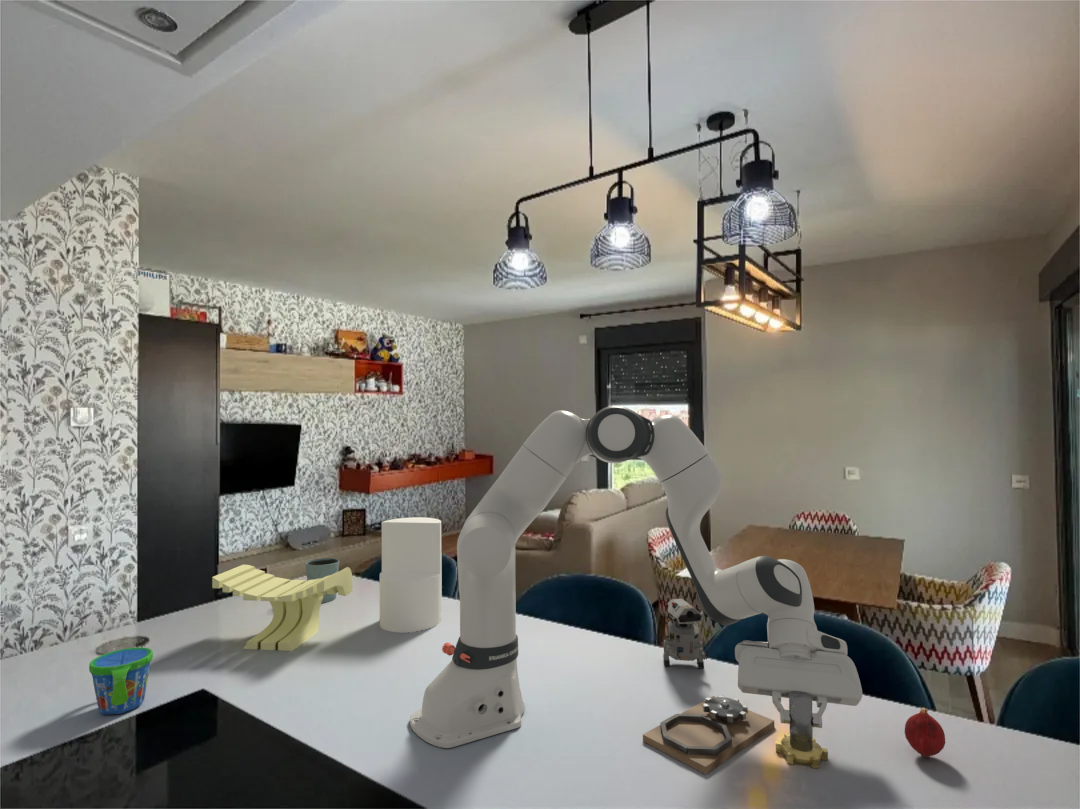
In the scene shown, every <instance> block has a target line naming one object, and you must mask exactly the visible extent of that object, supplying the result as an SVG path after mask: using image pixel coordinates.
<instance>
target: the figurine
mask: <svg viewBox="0 0 1080 809" xmlns="http://www.w3.org/2000/svg"><path fill="white" fill-rule="evenodd" d="M667 606H668V607H667V608H668V609H667V612H668V615H669V616H667V617H665V620H664V621H665V627H664V633H665V638H666V639H663V655H662V657H663V664H664V666H665V667H670V666H671V664H670V663H671V660H670V658H672V659H673V660H675V661H685V662H686V661H687V662H690V661H692V662H693V661H695V660H696V661H697V666H698V668H699V669H704V668H705V662H704V661H705V660H707V659H708V657H709V656H708V651H707V649H706V650H705V651H704V648H703V641H701V640H700V627H699V624H700V623H702V622H703V618H704V615H703V614H702V613H701V612H700V609H699V608H698V607H697V606H692V604H690V603H689V602H687V601H686V600H685V599H682V597H681V598H672V599H669V601H668V602H667Z"/></svg>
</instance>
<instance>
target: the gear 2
mask: <svg viewBox="0 0 1080 809" xmlns="http://www.w3.org/2000/svg"><path fill="white" fill-rule="evenodd" d="M788 702H789V703H788V705H789V706H788V708H789V709H788V710H789V711H790V724H789V733H784V737H783V738H781V740H776V739H775V752H776V753H781V754H782V756H783V757H784V758H785V759H786V763H788V764H790V765H793V766H794V765H795V764H796V765H800V766H806V767H807V766H808V767H811V768H812V769H820V763H822V761H829V751H828V748H825V747H822V746H821V745H820V744H819V743H818V742H816V738H815V737H813V736H814V735H813V731H814V730H813V728H814V727H813V726H812V713H813V701H812V696H811V695H810V694H808V693H806V692H801V691H791V692H790V693H789V698H788Z"/></svg>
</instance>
